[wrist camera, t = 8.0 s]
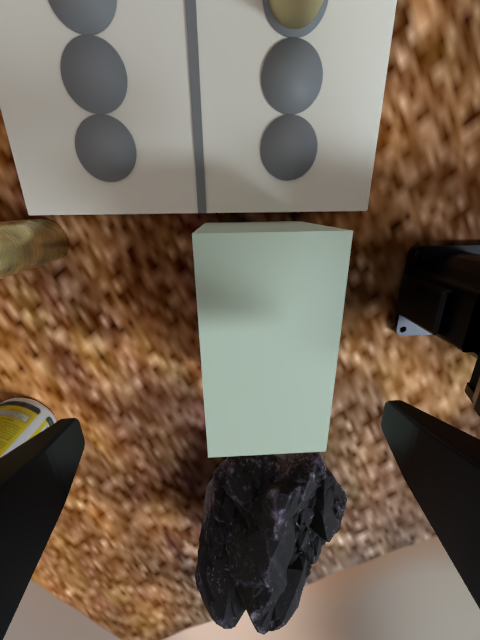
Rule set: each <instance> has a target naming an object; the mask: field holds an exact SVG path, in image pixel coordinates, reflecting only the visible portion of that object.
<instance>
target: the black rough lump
mask: <svg viewBox="0 0 480 640" xmlns="http://www.w3.org/2000/svg"><path fill="white" fill-rule="evenodd" d="M346 502H347V497H346V494H345V492H344V491H343V489H342V487H341V486H340V485H339V484H338V483H337V481H336V480H335V478H334V476H333V475H332V473H331V472H330V471H329V469H328V468H326V464H325V462H324V459H323V456H322V454H321V452H305V453H287V454H268V455H249V456H230V457H227V458H226V459H225V460H224V461H223V462H221V464H220V465H219V467H217V468H216V469H215V470H214V472H213V479H212V480H211V481H210V482H209V483H208V485H207V488H206V494H205V501H204V510H203V519H202V526H201V533H200V538H199V549H198V562H197V567H196V572H195V579H196V585H197V589H198V590H199V591H200V594H201V597H202V600H203V602H204V605H205V606H206V608H207V610H208V612H209V614H210V616H211V618H212V619H213V620H214V621H215V623H216V624H218V625H219V626H221V627H223V628H224V629H231V628H233V627H235V626H236V624H237V623H238V621H239V620H240V618H241V616H242V615H243V613H244V611H245V610H247V612H248V614H249V617H250V619H251V621H252V623H253V625H254V627H255V629H256V630H257V632H259V633H262V634H265V633H267V632H268V631H274V630H277V629H280V628H281V627H283V626H284V625H286V624H287V622H288V621H289V619H290V618H291V617H292V615H293V614H294V612H295V611H296V609H297V608H298V605H299V601H300V597H301V594H302V590H303V587H304V585H305V581H306V579H307V578H308V576H309V575H310V574H311V572H310V569H311V567H312V566H311V564H314V563H316V562H317V560H318V558H319V555H320V553H321V546H322V545H324V544H325V542H330V541H331V539H332V537H333V536H334V534H336V533H337V532H338V530H339V528H340V525H341V520H342V517H343V513H344V509H345V508H346Z"/></svg>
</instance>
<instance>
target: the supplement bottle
mask: <svg viewBox="0 0 480 640" xmlns="http://www.w3.org/2000/svg"><path fill="white" fill-rule="evenodd" d="M54 423H56V419H55V417H54V415H53V413H52V412H51V411H50V410H49V409H48V408H47V407H45V406H44V405H43V404H41V403H39V402H37V401H35V400H32V399H28V398H12V399H8V400H5V401H3V402H2V403H0V458H1V457H2V456H4V455H5V454H7V453H8V452H10V451H12V450H13V449H15V448H16V447H18V446H19V445H21V444H23V443H24V442H26V441H27V440H29V439H31V438H32V437H34V436H35V435H37V434H38V433H40V432H42V431H43V430H45V429H46V428H48V427H49V426H51V425H53V424H54Z"/></svg>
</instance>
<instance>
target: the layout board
mask: <svg viewBox="0 0 480 640" xmlns="http://www.w3.org/2000/svg"><path fill="white" fill-rule="evenodd" d="M396 3H397V0H0V108H1V112H2V116H3V120H4V124H5V127H6V131H7V135H8V139H9V143H10V147H11V150H12V154H13V158H14V162H15V166H16V169H17V173H18V177H19V181H20V185H21V188H22V192H23V196H24V200H25V204H26V207H27V211H28V215H95V214H171V213H248V212H324V211H367V210H368V203H369V196H370V188H371V181H372V174H373V167H374V160H375V153H376V146H377V139H378V131H379V124H380V117H381V110H382V103H383V96H384V89H385V82H386V74H387V67H388V60H389V53H390V46H391V39H392V32H393V24H394V17H395V10H396Z"/></svg>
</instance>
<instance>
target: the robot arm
mask: <svg viewBox="0 0 480 640" xmlns="http://www.w3.org/2000/svg"><path fill="white" fill-rule="evenodd" d="M418 250H419V254H418V256H415V254H416V252H417V251H418ZM396 311H397V313H396V318H395V323H394V332H396V333H397V334H398V335H401V336H405V335H436V336H438V337H439V338H441V339H443V340H444V341H446V342H448V343H449V344H451V345H453V346H454V347H456V348H458V349H459V350H461V351H462V352H467V353H469V354H470V355H472V356H474V357H475V358H477V361H476V364H475V367H474V370H473V373H472V376H471V380H470V382H468V383H467V385H466V388H465V393H466V394H467V396H468V397H469V398H470V400H471V401H472V403H473V406H474V409H475V411H476V412H477V414H478V415H479V416H480V244H473V245H420V246H414V247H412V248H411V249H410V250H409V253H408V257H407V262H406V267H405V273H404V277H403V278H402V282H401V287H400V292H399V297H398V302H397V307H396ZM401 327H403V329H402V330H400V328H401ZM381 428H382V431H383V433H384V436H385V438H386V440H387V442H388V444H389V446H390V449H391V451H392V453H393V455H394V457H395V460H396V462H397V464H398V466H399V468H400V470H401V473H402V475H403V477H404V479H405V481H406V482H407V484H408V486H409V488H410V490H411V491H412V493H413V495H414V497H415V498H416V500H417V502H418V503H419V505H420V507H421V509H422V510H423V512H424V514H425V516H426V517H427V519H428V521H429V522H430V524H431V526H432V528H433V529H434V531H435V533H436V534H437V536H438V538H439V540H440V541H441V543H442V545H443V547H444V548H445V550H446V552H447V553H448V555H449V557H450V559H451V560H452V562H453V563H454V566H455V567H456V569H457V571H458V572H459V574H460V576H461V578H462V579H463V581H464V583H465V584H466V586H467V588H468V590H469V591H470V593H471V595H472V596H473V598H474V600H475V602H476V603H477V605H478V607H479V608H480V440H479V439H477V438H475V437H473V436H471V435H469V434H467V433H465V432H463V431H461V430H459V429H457V428H455V427H453V426H451V425H449V424H447V423H445V422H443V421H441V420H439V419H437V418H435V417H433V416H431V415H429V414H427V413H425V412H423V411H421V410H419V409H417V408H415V407H413V406H411V405H409V404H407V403H405V402H403V401H400V400H395V401H387V402H386V403H385V406H384V411H383V416H382V421H381ZM84 445H85V441H84V437H83V433H82V430H81V426H80V423H79V420H78V419H76V418H67V419H61V420H59V421H57V422H56V423H54V424H53V425H51V426H49V427H48V428H46V429H45V430H43V431H42V432H40V433H38V434H37V435H35V436H34V437H32V438H31V439H29V440H27V441H26V442H24V443H23V444H21V445H19V446H18V447H16V448H15V449H13V450H12V451H10V452H8V453H7V454H5V455H4V456H2V457H1V458H0V640H3V638H4V636H5V634H6V631H7V629H8V627H9V625H10V623H11V621H12V618H13V616H14V614H15V612H16V610H17V608H18V605H19V603H20V601H21V599H22V597H23V594H24V592H25V590H26V588H27V586H28V583H29V581H30V579H31V577H32V575H33V573H34V570H35V568H36V566H37V564H38V562H39V559H40V557H41V555H42V553H43V551H44V549H45V546H46V544H47V542H48V540H49V538H50V535H51V533H52V531H53V529H54V527H55V524H56V522H57V520H58V518H59V516H60V513H61V511H62V509H63V507H64V504H65V502H66V499H67V496H68V493H69V491H70V488H71V485H72V482H73V479H74V476H75V473H76V470H77V467H78V465H79V462H80V459H81V456H82V453H83V450H84Z"/></svg>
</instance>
